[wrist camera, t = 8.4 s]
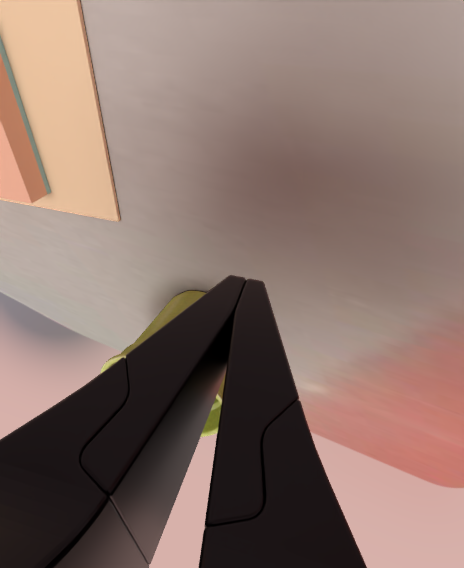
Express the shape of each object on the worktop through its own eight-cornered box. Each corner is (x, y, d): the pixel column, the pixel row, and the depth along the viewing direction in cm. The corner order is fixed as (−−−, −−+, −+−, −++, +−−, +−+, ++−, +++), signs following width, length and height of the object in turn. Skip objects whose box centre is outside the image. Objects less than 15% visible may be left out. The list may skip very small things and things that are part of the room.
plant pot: (155, 336, 32) (110, 416, 25) (148, 262, 26) (87, 342, 19) (245, 359, 31) (222, 449, 24) (260, 287, 25) (235, 382, 18)
